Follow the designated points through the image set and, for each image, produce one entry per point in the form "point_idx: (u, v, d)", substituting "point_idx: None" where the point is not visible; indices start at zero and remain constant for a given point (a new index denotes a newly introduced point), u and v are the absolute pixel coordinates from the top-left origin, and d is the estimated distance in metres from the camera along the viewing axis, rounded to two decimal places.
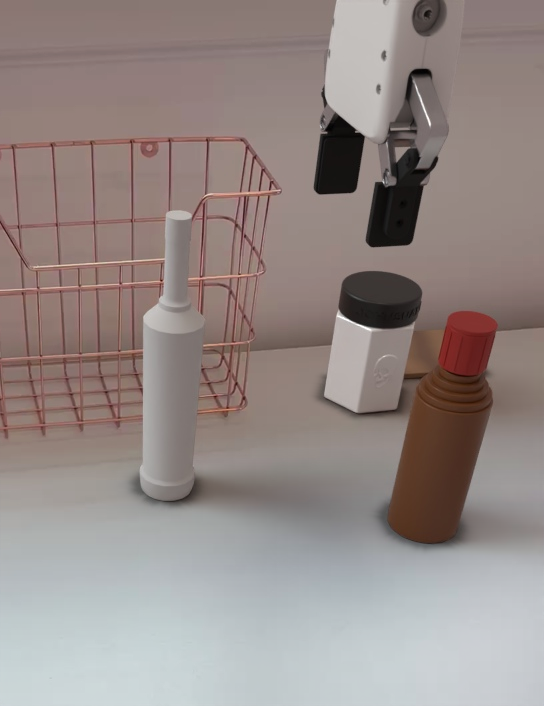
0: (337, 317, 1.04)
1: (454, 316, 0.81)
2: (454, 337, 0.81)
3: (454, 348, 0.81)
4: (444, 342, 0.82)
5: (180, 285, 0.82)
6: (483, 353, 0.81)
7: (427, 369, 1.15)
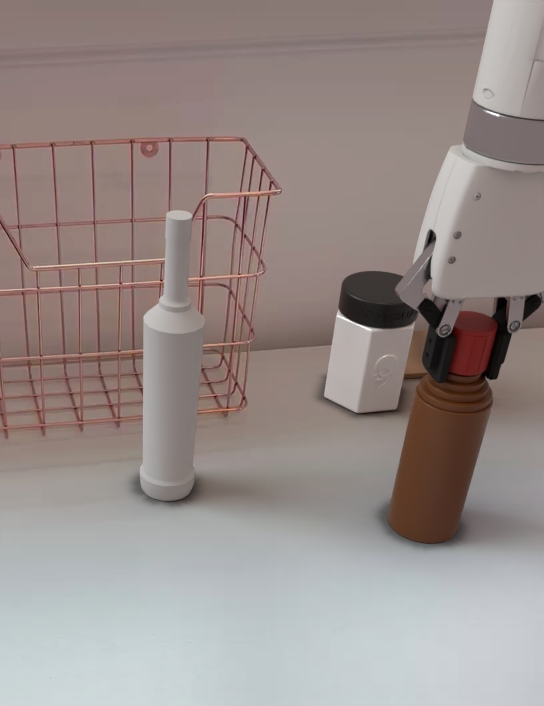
0: (337, 317, 1.04)
1: None
2: None
3: None
4: None
5: (180, 285, 0.82)
6: (483, 353, 0.81)
7: None
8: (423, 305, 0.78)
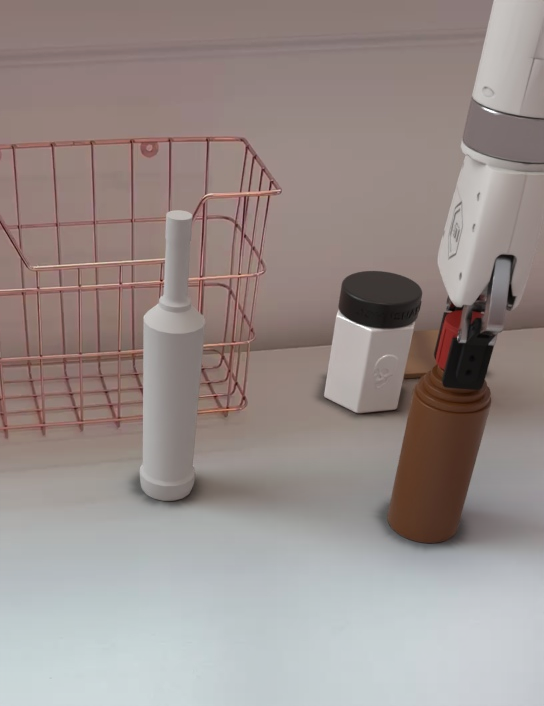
0: (337, 317, 1.04)
1: None
2: None
3: None
4: None
5: (180, 285, 0.82)
6: None
7: (427, 369, 1.15)
8: None
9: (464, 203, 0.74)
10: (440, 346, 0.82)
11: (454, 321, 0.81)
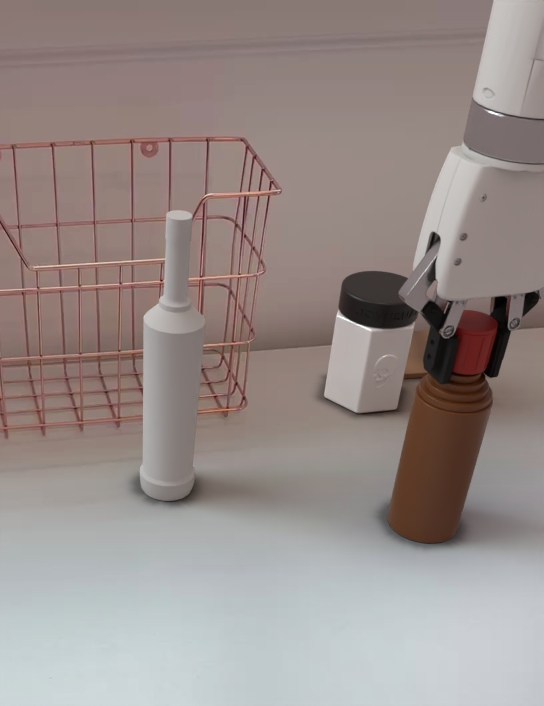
0: (337, 317, 1.04)
1: (463, 326, 0.80)
2: (487, 340, 0.80)
3: (486, 349, 0.81)
4: (472, 352, 0.81)
5: (180, 285, 0.82)
6: None
7: None
8: (427, 307, 0.78)
9: None
10: None
11: None
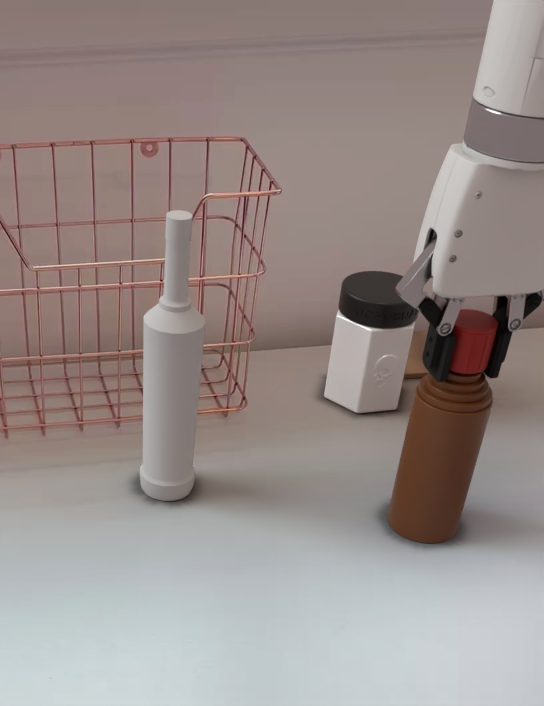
0: (337, 317, 1.04)
1: (486, 327, 0.80)
2: None
3: None
4: (492, 345, 0.81)
5: (180, 285, 0.82)
6: None
7: None
8: (424, 304, 0.78)
9: None
10: (468, 356, 0.81)
11: (474, 327, 0.80)
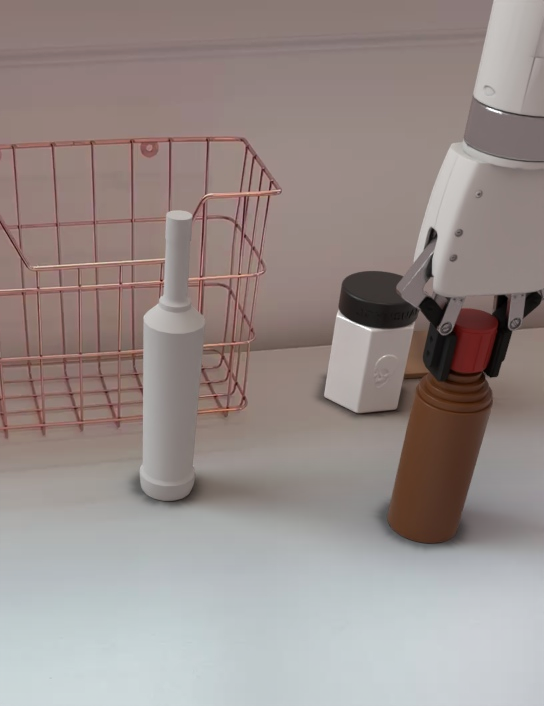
0: (337, 317, 1.04)
1: (490, 317, 0.81)
2: None
3: None
4: None
5: (180, 285, 0.82)
6: None
7: (427, 369, 1.15)
8: (424, 303, 0.78)
9: None
10: (491, 349, 0.82)
11: (490, 322, 0.80)
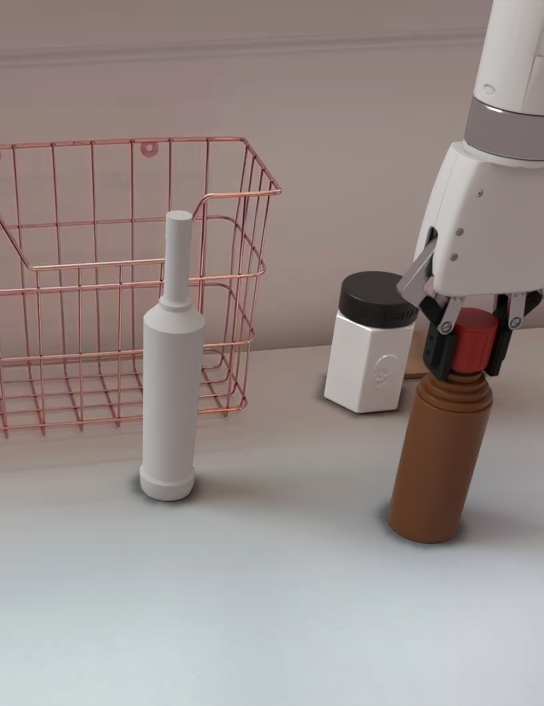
0: (337, 317, 1.04)
1: (469, 309, 0.82)
2: None
3: None
4: None
5: (180, 285, 0.82)
6: (458, 348, 0.81)
7: (427, 369, 1.15)
8: (424, 302, 0.78)
9: None
10: None
11: (480, 312, 0.82)
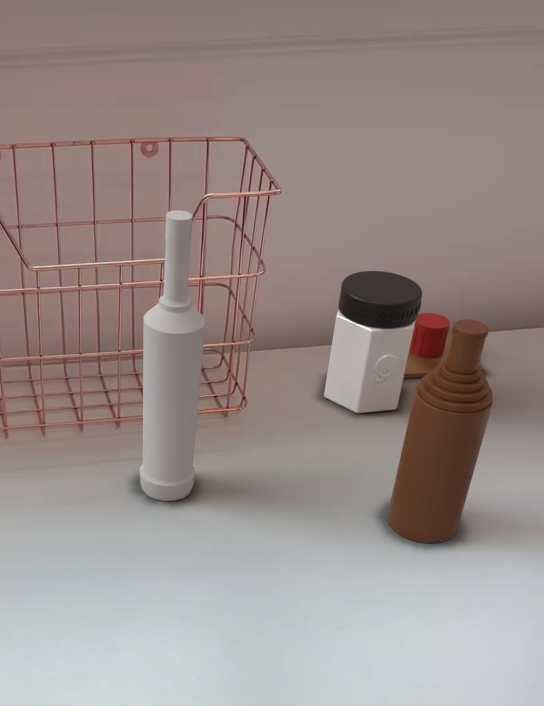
0: (337, 317, 1.04)
1: (430, 314, 1.17)
2: None
3: None
4: None
5: (180, 285, 0.82)
6: (421, 341, 1.16)
7: (427, 369, 1.15)
8: None
9: None
10: None
11: (437, 316, 1.17)
